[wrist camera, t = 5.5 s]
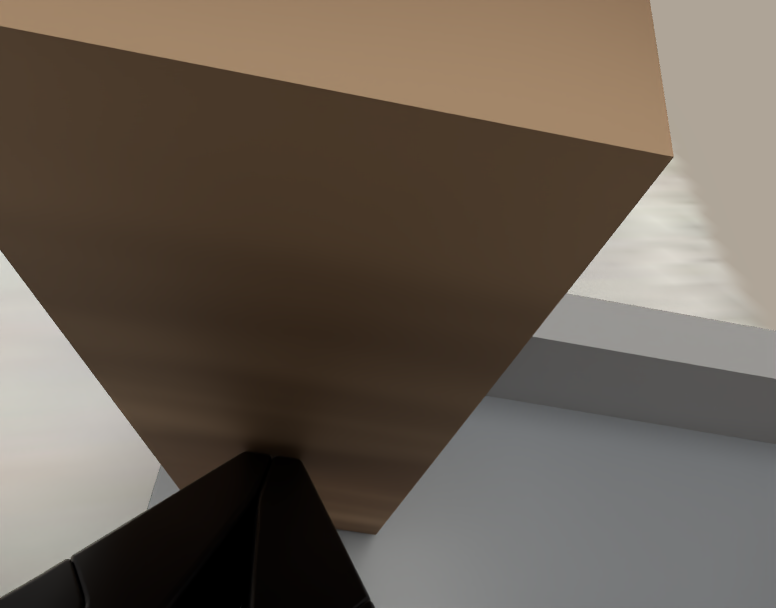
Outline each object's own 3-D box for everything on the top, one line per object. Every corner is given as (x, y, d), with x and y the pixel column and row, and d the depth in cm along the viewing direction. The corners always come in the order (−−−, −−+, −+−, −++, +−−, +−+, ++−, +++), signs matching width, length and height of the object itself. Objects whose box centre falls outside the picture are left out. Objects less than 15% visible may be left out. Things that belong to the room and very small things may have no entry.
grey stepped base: (989, 882, 14) (1361, 1010, 9) (92, 770, 13) (-31, 849, 8) (868, 448, 19) (1066, 382, 14) (218, 339, 17) (189, 226, 13)
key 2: (376, 534, 13) (674, 157, 3) (192, 507, 13) (-197, -12, 3) (391, 405, 15) (625, -151, 4) (228, 378, 15) (65, -276, 4)
